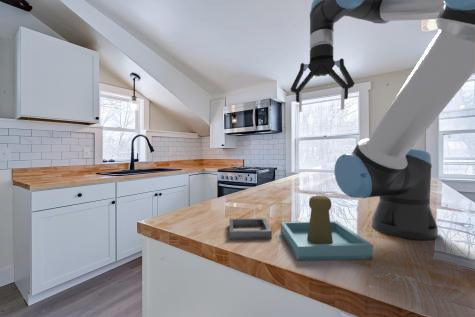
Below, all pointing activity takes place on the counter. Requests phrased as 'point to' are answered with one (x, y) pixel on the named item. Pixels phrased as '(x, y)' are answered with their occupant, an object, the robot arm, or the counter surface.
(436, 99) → the robot arm
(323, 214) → the olive tall rounded piece
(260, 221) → the grey square holder
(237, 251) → the counter surface
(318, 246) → the tray
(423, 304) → the counter surface
